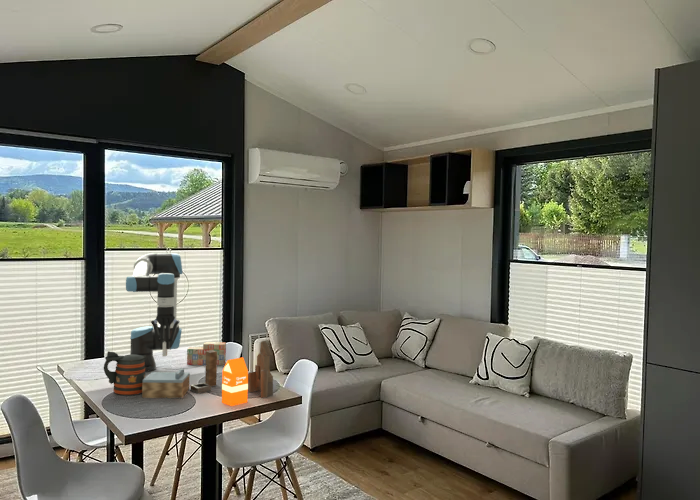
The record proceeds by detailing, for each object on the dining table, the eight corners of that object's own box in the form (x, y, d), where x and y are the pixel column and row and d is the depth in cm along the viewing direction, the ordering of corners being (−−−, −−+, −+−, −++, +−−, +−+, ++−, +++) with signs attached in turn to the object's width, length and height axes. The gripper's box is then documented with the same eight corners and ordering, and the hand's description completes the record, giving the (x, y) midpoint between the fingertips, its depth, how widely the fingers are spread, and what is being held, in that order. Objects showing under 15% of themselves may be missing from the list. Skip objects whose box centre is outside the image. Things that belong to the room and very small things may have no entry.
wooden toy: (245, 390, 261) (246, 340, 261) (257, 388, 266) (258, 338, 265) (262, 398, 250) (264, 345, 249) (274, 395, 254) (276, 343, 254)
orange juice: (247, 402, 244) (248, 358, 243) (231, 406, 237) (232, 361, 237) (237, 398, 249) (238, 355, 249) (221, 402, 243) (222, 358, 242)
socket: (197, 393, 255) (197, 388, 255) (190, 390, 260) (190, 385, 260) (211, 390, 260) (211, 385, 260) (203, 387, 265) (203, 382, 265)
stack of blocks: (186, 365, 310) (187, 343, 310) (189, 362, 316) (189, 341, 316) (224, 365, 312) (224, 344, 312) (225, 362, 318) (226, 342, 318)
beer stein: (106, 398, 244) (106, 355, 243) (101, 390, 256) (102, 349, 256) (149, 393, 254) (150, 351, 254) (143, 385, 267) (143, 345, 266)
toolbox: (142, 397, 247) (142, 382, 246) (151, 389, 261) (151, 374, 260) (182, 397, 248) (182, 382, 248) (189, 389, 262) (189, 375, 262)
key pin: (209, 386, 267) (209, 352, 267) (205, 384, 270) (205, 351, 270) (216, 385, 270) (216, 351, 270) (212, 383, 273) (213, 350, 272)
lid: (142, 382, 246) (142, 374, 246) (151, 374, 260) (152, 367, 260) (182, 382, 248) (182, 374, 248) (189, 374, 262) (189, 367, 261)
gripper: (149, 306, 249) (148, 357, 249) (177, 307, 250) (176, 357, 250) (153, 304, 256) (153, 354, 257) (181, 305, 257) (180, 354, 258)
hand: (164, 355), depth 253 cm, fingers closed
